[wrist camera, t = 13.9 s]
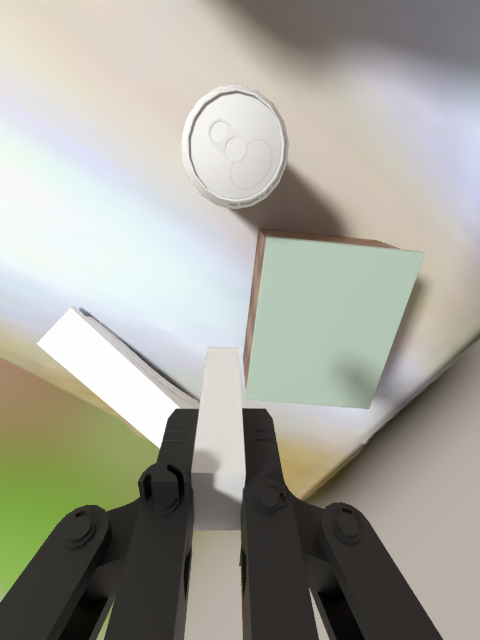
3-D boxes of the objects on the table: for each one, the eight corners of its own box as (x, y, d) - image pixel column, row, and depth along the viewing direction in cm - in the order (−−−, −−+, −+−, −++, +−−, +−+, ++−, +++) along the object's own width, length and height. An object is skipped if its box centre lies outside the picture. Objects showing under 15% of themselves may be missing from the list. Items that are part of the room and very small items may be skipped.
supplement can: (280, 161, 34) (316, 143, 21) (235, 216, 37) (239, 232, 23) (229, 105, 32) (231, 43, 18) (184, 168, 34) (155, 154, 20)
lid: (266, 235, 30) (267, 237, 29) (418, 251, 31) (425, 253, 29) (245, 393, 38) (245, 399, 37) (365, 402, 39) (368, 409, 38)
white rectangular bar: (69, 325, 48) (186, 430, 54) (32, 349, 42) (169, 464, 48) (97, 291, 44) (222, 410, 49) (60, 313, 37) (208, 446, 43)
